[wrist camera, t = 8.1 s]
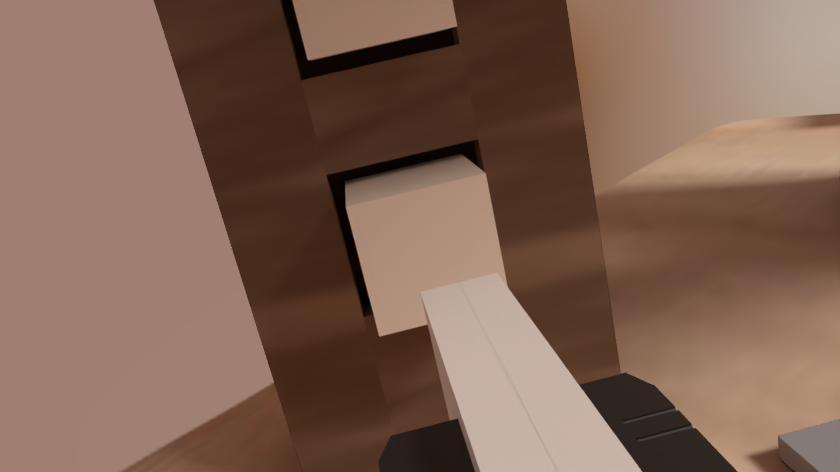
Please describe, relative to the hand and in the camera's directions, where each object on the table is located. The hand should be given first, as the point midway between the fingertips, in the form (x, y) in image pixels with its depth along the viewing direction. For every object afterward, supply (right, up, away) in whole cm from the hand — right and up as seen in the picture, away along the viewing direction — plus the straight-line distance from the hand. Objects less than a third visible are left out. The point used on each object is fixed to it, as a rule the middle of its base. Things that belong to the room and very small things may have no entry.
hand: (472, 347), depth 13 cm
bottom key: (-1, 0, +9) cm, 9 cm away
